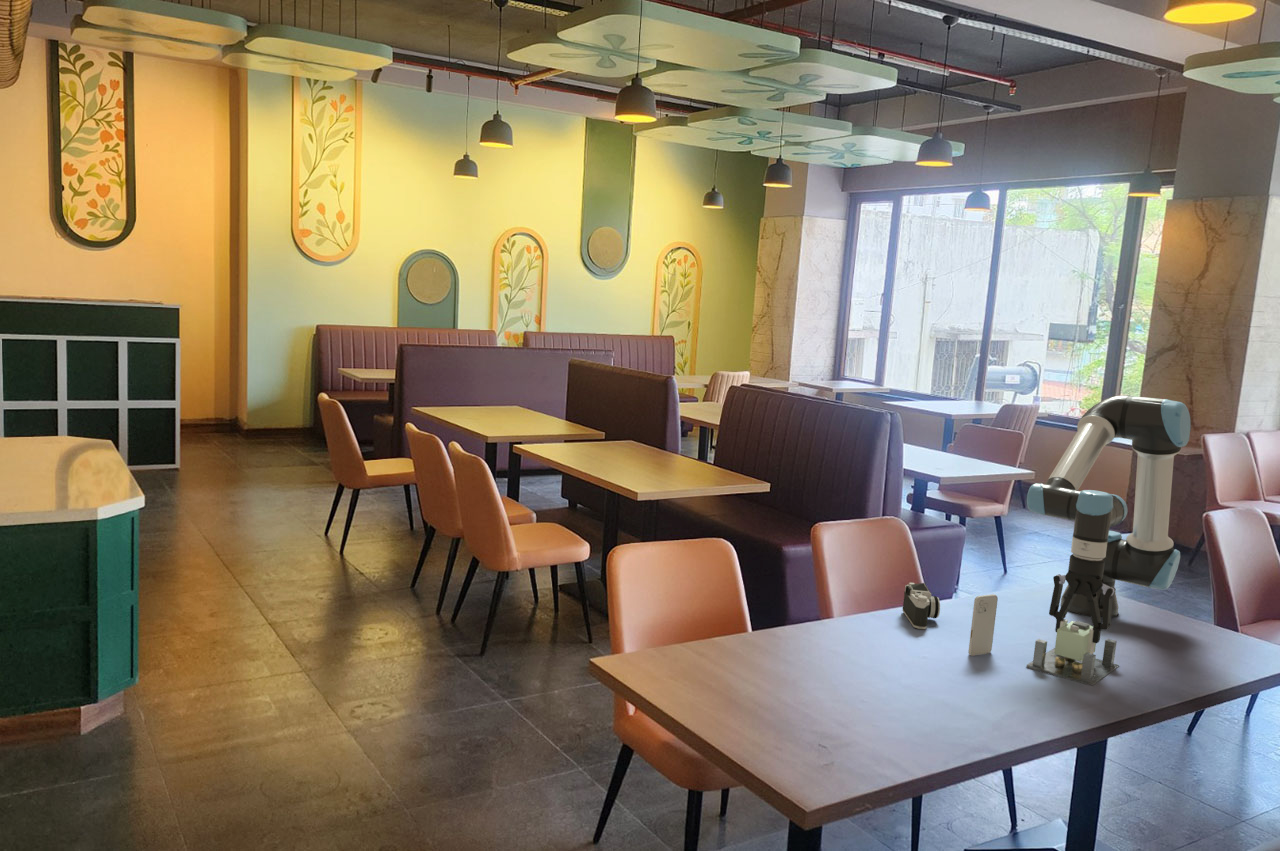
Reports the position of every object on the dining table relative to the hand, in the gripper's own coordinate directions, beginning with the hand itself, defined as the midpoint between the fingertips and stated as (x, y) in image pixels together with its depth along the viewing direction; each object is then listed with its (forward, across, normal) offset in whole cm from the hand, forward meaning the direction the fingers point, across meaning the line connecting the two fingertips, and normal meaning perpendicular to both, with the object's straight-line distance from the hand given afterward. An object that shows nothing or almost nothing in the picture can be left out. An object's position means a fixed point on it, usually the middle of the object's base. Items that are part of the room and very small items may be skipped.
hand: (1075, 650), depth 234 cm
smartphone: (+5, -19, -9) cm, 22 cm away
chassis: (+5, 0, 0) cm, 5 cm away
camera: (+5, -41, +4) cm, 42 cm away
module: (0, 0, 0) cm, 1 cm away
